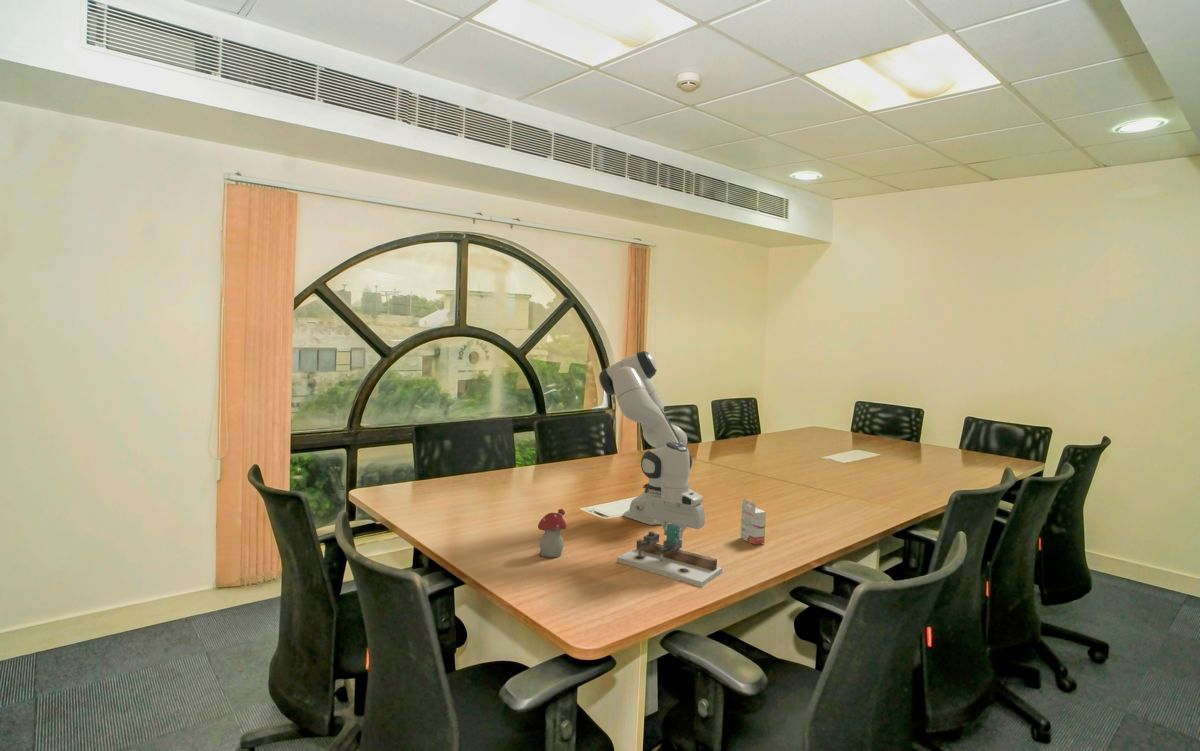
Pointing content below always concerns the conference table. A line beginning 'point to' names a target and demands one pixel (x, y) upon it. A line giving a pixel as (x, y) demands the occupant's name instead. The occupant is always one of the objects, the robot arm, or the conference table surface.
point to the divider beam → (674, 553)
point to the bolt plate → (669, 567)
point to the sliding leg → (671, 540)
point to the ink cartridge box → (752, 523)
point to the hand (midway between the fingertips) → (673, 536)
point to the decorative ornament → (552, 534)
